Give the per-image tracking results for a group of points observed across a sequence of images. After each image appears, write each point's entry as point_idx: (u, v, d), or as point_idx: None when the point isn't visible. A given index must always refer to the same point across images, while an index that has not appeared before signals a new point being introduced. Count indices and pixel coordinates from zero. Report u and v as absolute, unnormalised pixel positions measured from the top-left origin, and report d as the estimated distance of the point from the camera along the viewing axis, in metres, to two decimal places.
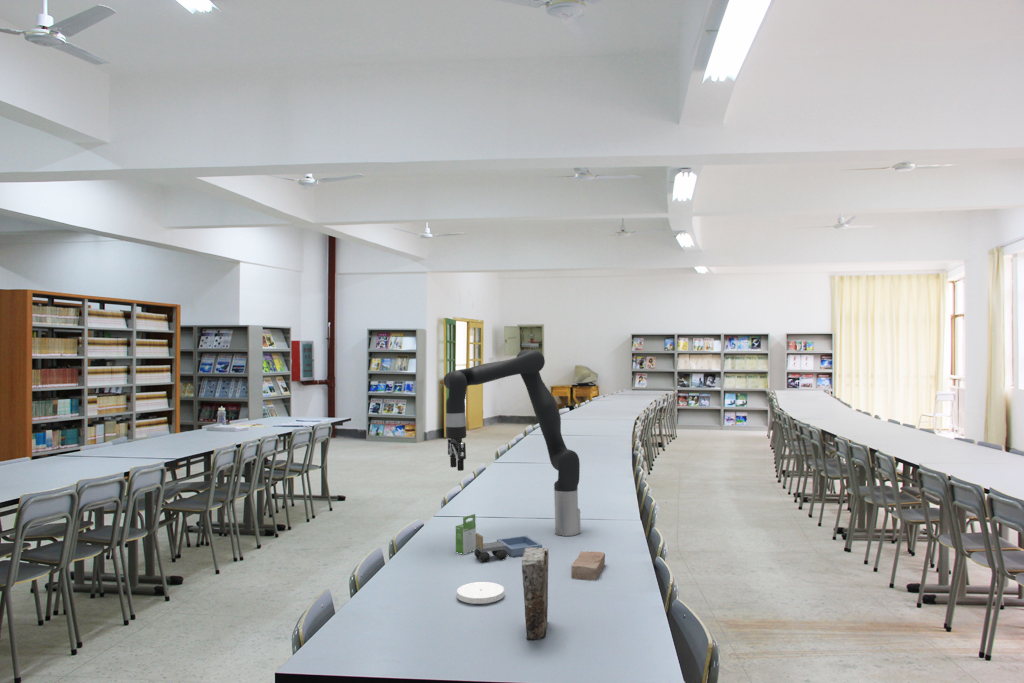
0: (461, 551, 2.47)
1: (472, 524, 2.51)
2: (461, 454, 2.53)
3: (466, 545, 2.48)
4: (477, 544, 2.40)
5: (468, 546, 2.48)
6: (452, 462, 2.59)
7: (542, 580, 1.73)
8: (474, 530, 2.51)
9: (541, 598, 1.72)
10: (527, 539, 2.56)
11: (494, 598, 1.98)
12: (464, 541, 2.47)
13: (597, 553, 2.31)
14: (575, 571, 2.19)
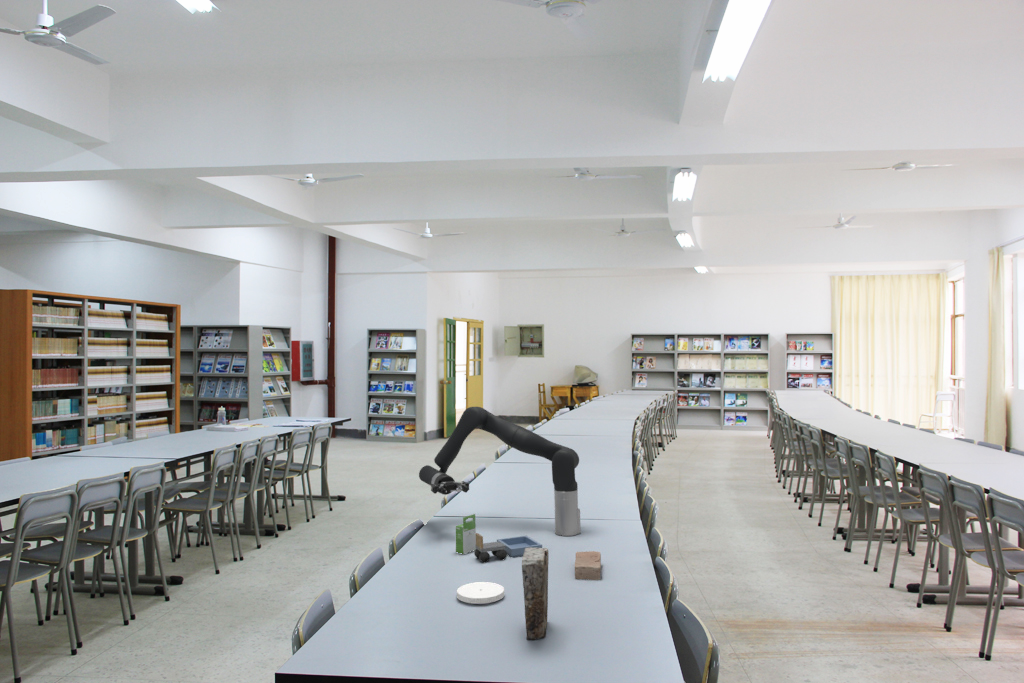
0: (461, 551, 2.47)
1: (472, 524, 2.51)
2: None
3: (466, 545, 2.48)
4: (477, 544, 2.40)
5: (468, 546, 2.48)
6: (464, 490, 2.64)
7: (542, 580, 1.73)
8: (474, 530, 2.51)
9: (541, 598, 1.72)
10: (527, 539, 2.56)
11: (494, 598, 1.98)
12: (464, 541, 2.47)
13: (593, 553, 2.32)
14: (579, 571, 2.18)
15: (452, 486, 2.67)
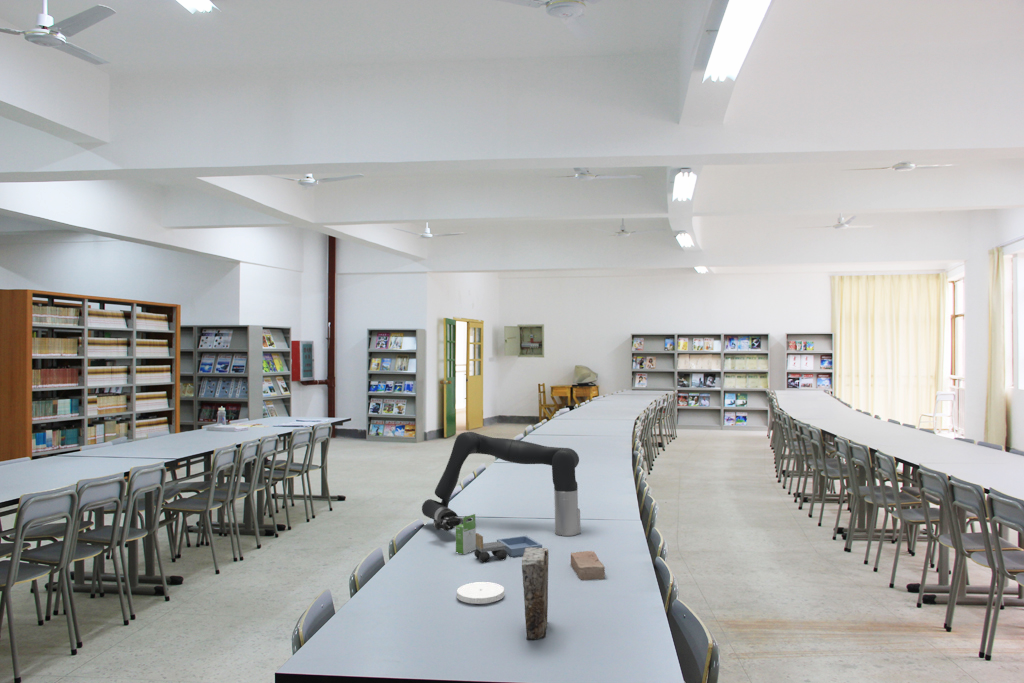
0: (461, 551, 2.47)
1: (472, 524, 2.51)
2: None
3: (466, 545, 2.48)
4: (477, 544, 2.40)
5: (468, 546, 2.48)
6: None
7: (542, 580, 1.73)
8: (474, 530, 2.51)
9: (541, 598, 1.72)
10: (527, 539, 2.56)
11: (494, 598, 1.98)
12: (464, 541, 2.47)
13: (588, 552, 2.32)
14: (585, 572, 2.17)
15: (455, 522, 2.64)
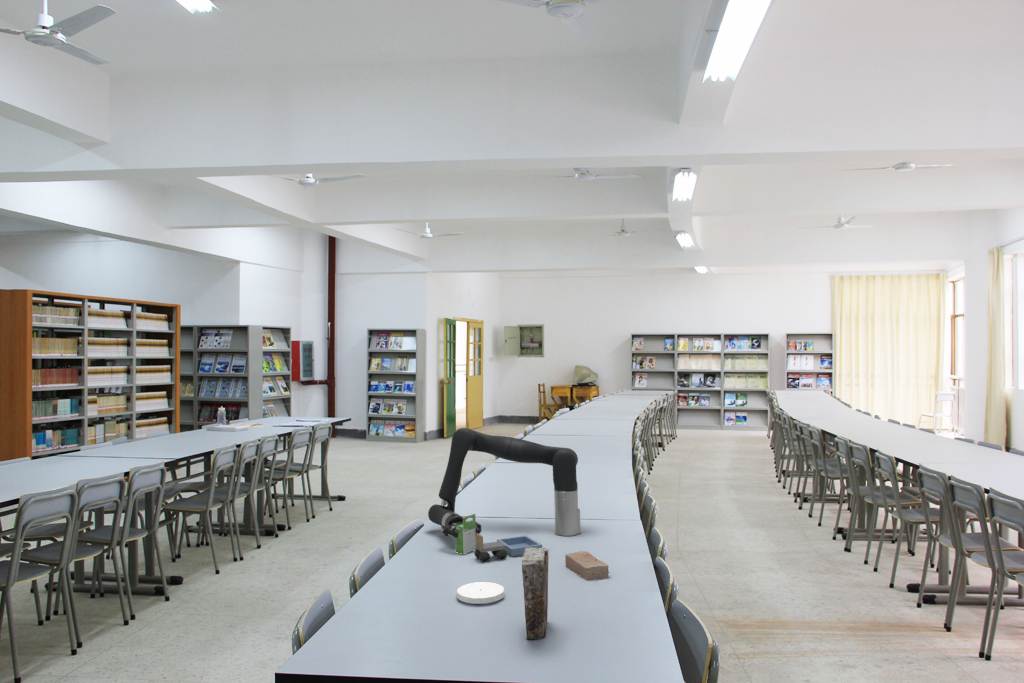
0: (461, 551, 2.47)
1: (472, 524, 2.51)
2: None
3: (466, 544, 2.48)
4: (477, 544, 2.40)
5: (468, 546, 2.48)
6: None
7: (542, 580, 1.73)
8: (474, 530, 2.51)
9: (541, 598, 1.72)
10: (527, 539, 2.56)
11: (494, 598, 1.98)
12: (464, 541, 2.47)
13: (583, 552, 2.32)
14: (591, 572, 2.17)
15: None
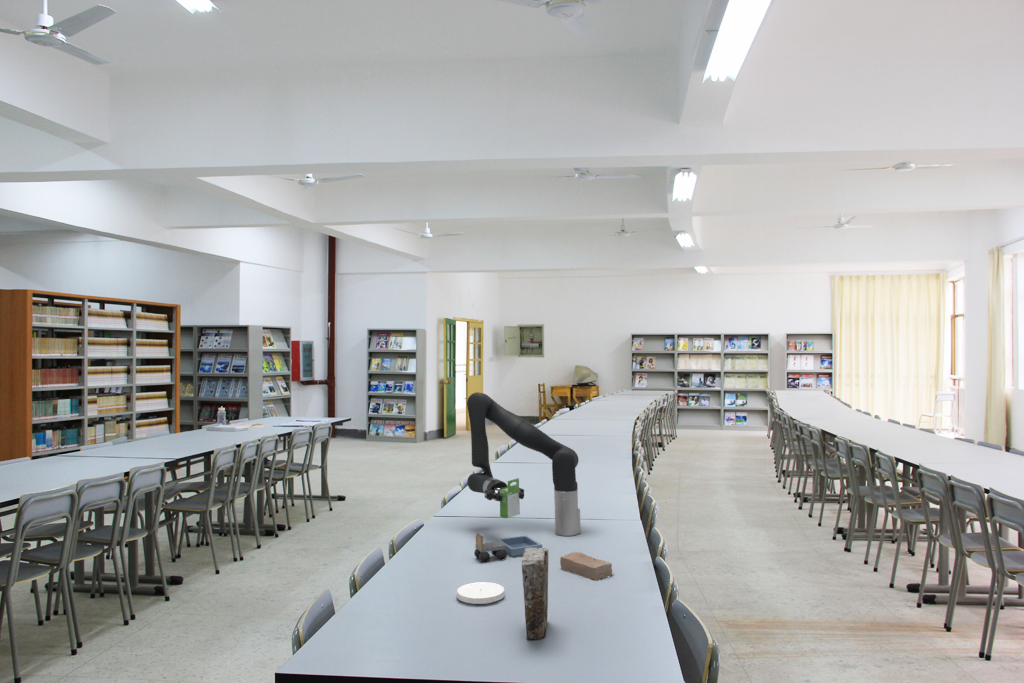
0: (506, 515, 2.48)
1: (516, 488, 2.51)
2: (496, 493, 2.53)
3: (510, 508, 2.48)
4: (477, 544, 2.40)
5: (512, 510, 2.49)
6: (519, 496, 2.52)
7: (542, 580, 1.73)
8: (518, 494, 2.52)
9: (541, 598, 1.72)
10: (527, 539, 2.56)
11: (494, 598, 1.98)
12: (509, 504, 2.48)
13: (576, 553, 2.31)
14: (599, 571, 2.18)
15: None
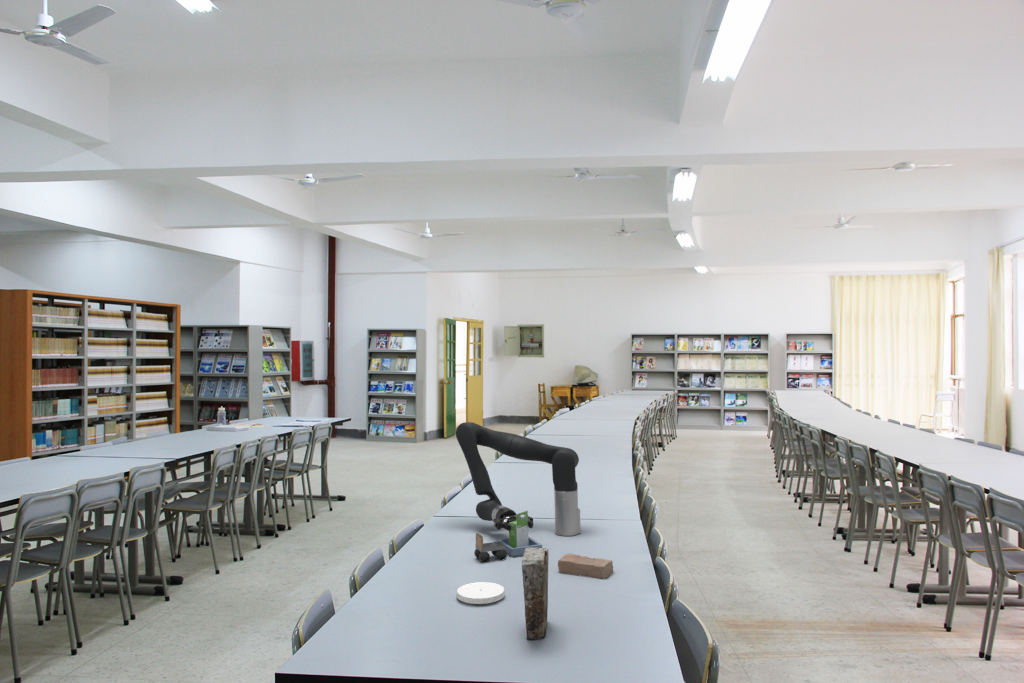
0: None
1: (525, 521, 2.51)
2: None
3: (519, 541, 2.48)
4: (477, 544, 2.40)
5: (521, 543, 2.49)
6: (528, 525, 2.52)
7: (542, 580, 1.73)
8: (527, 527, 2.52)
9: (541, 598, 1.72)
10: None
11: (494, 598, 1.98)
12: (518, 537, 2.48)
13: (569, 555, 2.29)
14: (606, 570, 2.19)
15: None
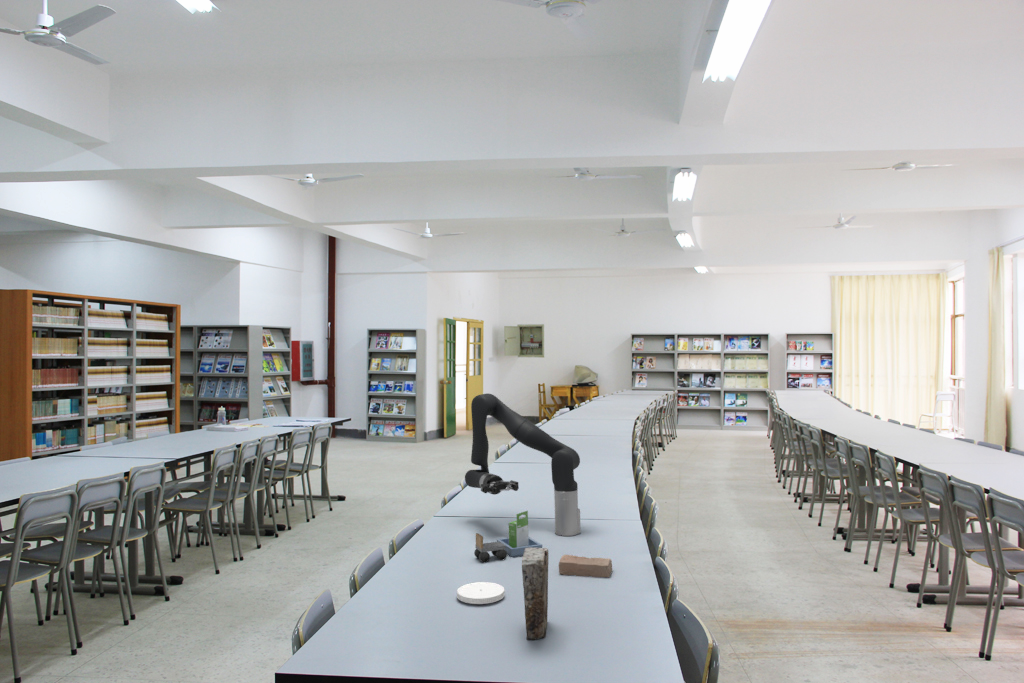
0: None
1: (525, 521, 2.51)
2: None
3: (519, 541, 2.48)
4: (477, 544, 2.40)
5: (521, 543, 2.49)
6: (514, 488, 2.65)
7: (542, 580, 1.73)
8: (527, 527, 2.52)
9: (541, 598, 1.72)
10: None
11: (494, 598, 1.98)
12: (518, 538, 2.48)
13: (567, 556, 2.28)
14: (609, 568, 2.20)
15: (502, 485, 2.68)
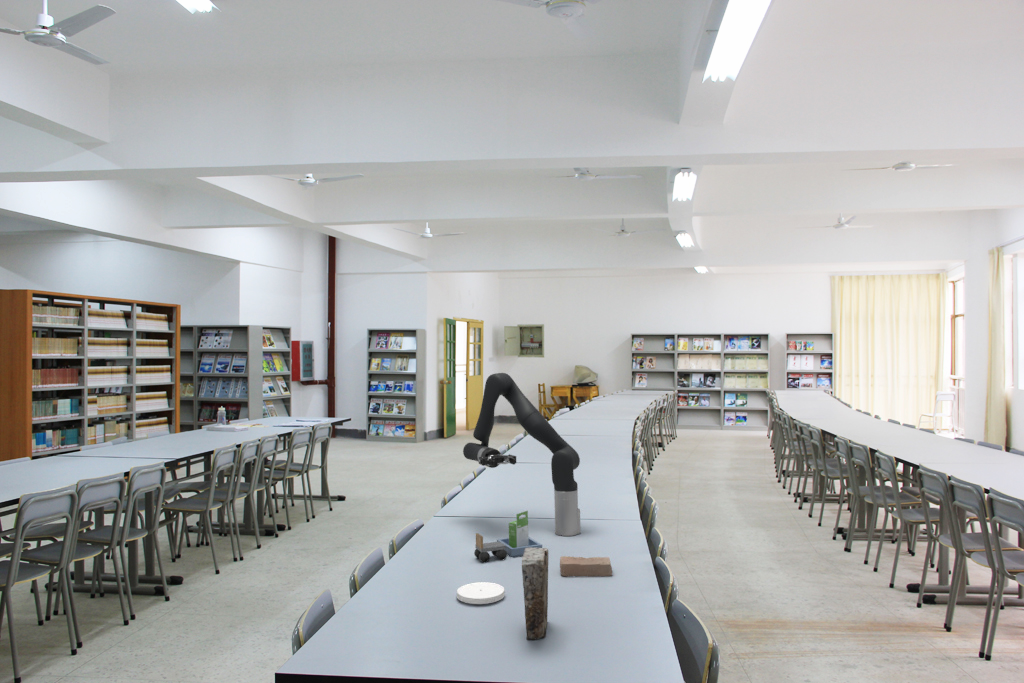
0: None
1: (525, 521, 2.51)
2: None
3: (519, 541, 2.48)
4: (477, 544, 2.40)
5: (521, 543, 2.49)
6: (511, 462, 2.67)
7: (542, 580, 1.73)
8: (527, 527, 2.52)
9: (541, 598, 1.72)
10: None
11: (494, 598, 1.98)
12: (518, 538, 2.48)
13: (566, 558, 2.27)
14: None
15: (500, 459, 2.69)
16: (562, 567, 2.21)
